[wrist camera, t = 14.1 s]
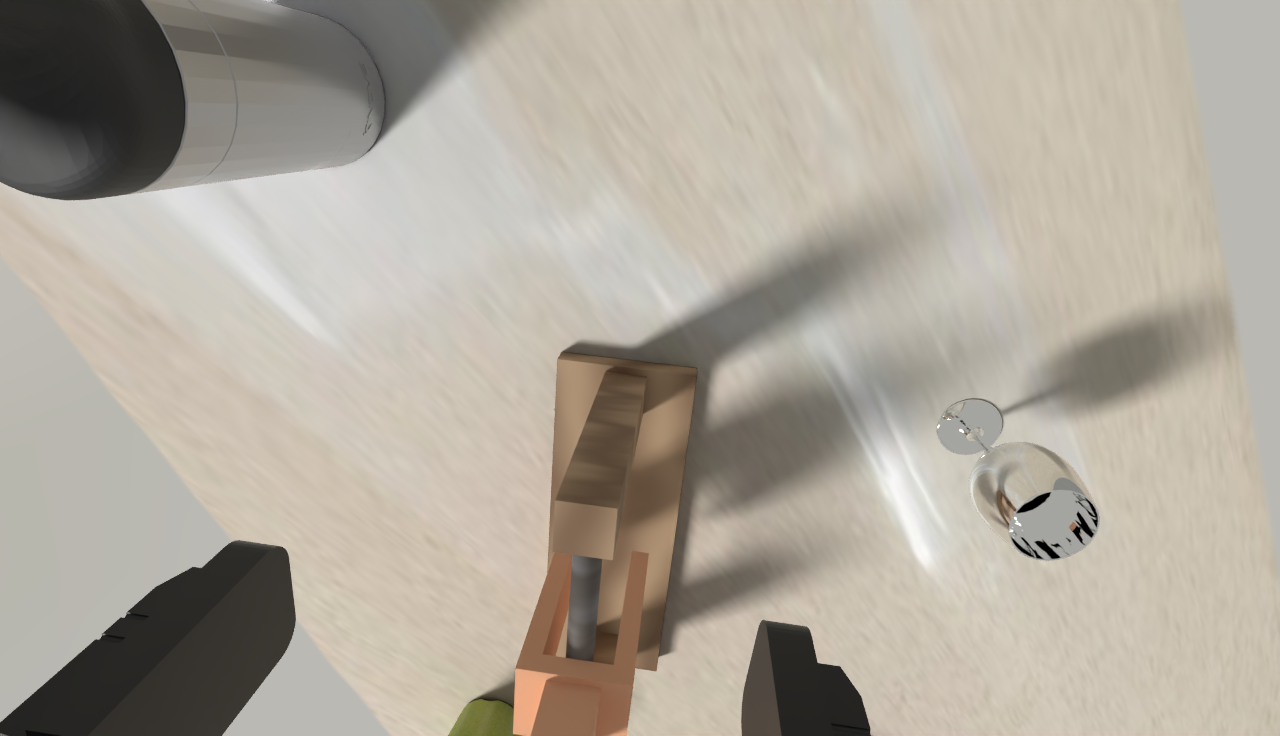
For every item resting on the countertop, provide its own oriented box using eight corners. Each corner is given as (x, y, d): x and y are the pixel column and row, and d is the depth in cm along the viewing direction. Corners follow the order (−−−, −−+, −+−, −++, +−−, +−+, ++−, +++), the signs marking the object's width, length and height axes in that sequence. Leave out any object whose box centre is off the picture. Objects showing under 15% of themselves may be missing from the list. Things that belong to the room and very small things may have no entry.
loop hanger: (555, 596, 46) (478, 846, 30) (558, 540, 45) (479, 775, 29) (641, 609, 46) (610, 867, 30) (649, 553, 44) (619, 797, 28)
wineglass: (979, 375, 44) (1071, 460, 33) (1028, 429, 45) (1132, 529, 34) (910, 425, 46) (976, 522, 35) (958, 476, 47) (1037, 585, 36)
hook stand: (547, 641, 57) (482, 857, 40) (561, 351, 47) (482, 481, 30) (657, 657, 57) (637, 882, 40) (696, 368, 46) (692, 509, 29)
